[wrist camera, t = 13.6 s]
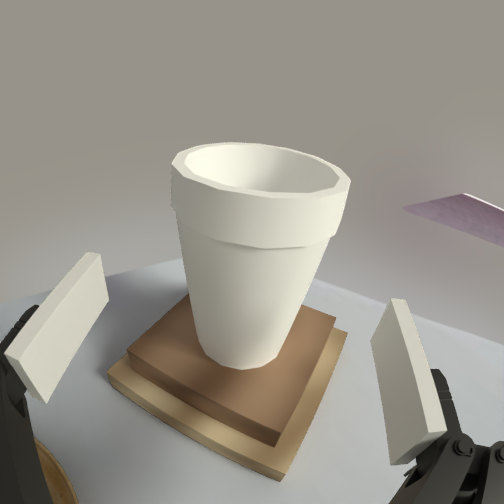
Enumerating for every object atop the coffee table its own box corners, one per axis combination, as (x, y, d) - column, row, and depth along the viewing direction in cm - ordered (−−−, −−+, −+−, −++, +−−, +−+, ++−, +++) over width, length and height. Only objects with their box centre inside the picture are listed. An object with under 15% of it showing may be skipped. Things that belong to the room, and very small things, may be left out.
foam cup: (280, 291, 28) (307, 146, 21) (322, 373, 21) (385, 200, 14) (172, 300, 26) (169, 142, 19) (185, 395, 18) (175, 199, 11)
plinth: (111, 385, 22) (98, 351, 20) (208, 292, 34) (210, 257, 32) (280, 481, 17) (294, 462, 15) (341, 346, 29) (356, 313, 27)
